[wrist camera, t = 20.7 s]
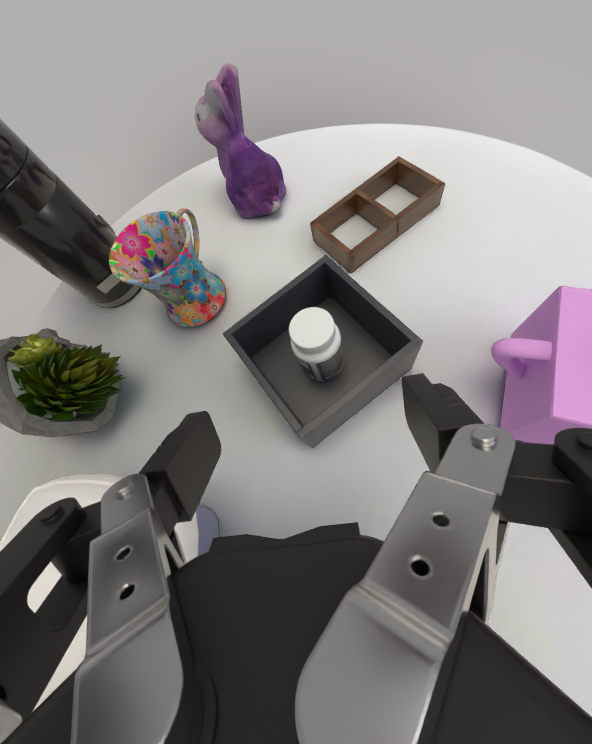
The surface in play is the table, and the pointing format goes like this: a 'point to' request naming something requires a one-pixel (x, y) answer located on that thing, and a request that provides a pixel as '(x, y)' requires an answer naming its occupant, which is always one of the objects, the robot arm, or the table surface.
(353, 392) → the dark grey open box
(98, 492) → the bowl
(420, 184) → the rack
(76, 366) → the potted plant
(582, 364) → the teapot
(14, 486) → the table surface
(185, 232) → the mug
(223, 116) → the figurine
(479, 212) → the table surface
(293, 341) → the pill bottle
